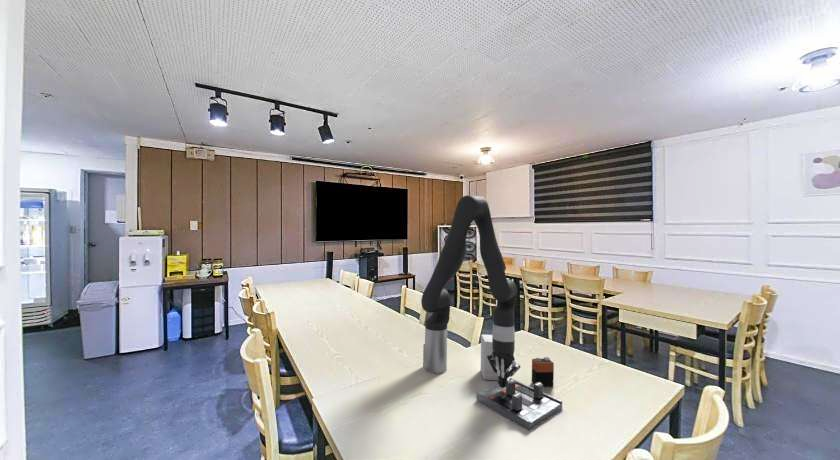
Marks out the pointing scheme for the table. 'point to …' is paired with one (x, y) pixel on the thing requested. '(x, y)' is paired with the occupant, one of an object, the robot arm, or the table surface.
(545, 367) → the battery
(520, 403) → the breaker
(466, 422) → the table surface
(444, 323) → the robot arm
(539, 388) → the breaker
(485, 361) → the supplement box
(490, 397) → the panel
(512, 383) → the breaker
